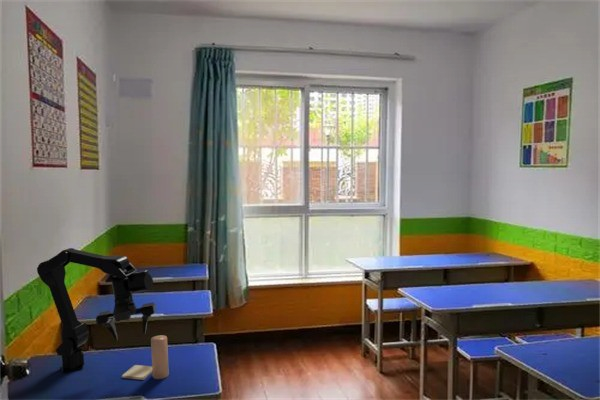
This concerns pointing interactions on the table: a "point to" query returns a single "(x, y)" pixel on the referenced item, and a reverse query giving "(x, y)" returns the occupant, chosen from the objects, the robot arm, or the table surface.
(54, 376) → the table surface
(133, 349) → the table surface
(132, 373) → the coaster
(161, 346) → the tan rounded cylinder
